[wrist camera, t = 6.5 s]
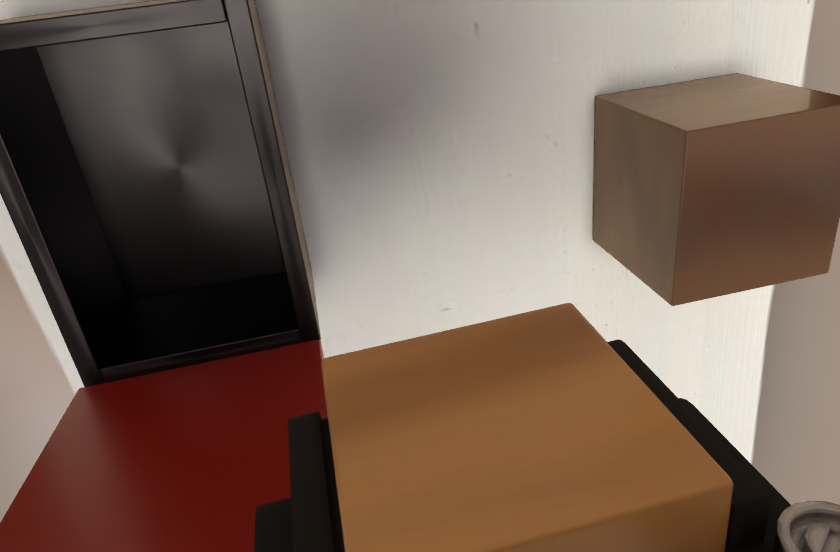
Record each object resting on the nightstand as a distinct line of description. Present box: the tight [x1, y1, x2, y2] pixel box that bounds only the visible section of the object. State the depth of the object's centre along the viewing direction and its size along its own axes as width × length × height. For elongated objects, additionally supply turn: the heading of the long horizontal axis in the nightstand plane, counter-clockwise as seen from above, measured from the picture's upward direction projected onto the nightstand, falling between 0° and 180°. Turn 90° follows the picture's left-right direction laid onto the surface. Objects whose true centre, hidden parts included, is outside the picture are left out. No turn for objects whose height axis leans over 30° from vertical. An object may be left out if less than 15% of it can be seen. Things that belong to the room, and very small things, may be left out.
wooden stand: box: [593, 73, 840, 306], centre depth 31 cm, size 8×8×8 cm
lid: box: [0, 340, 328, 552], centre depth 19 cm, size 14×10×1 cm
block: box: [321, 303, 734, 552], centre depth 10 cm, size 4×4×4 cm
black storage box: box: [0, 0, 321, 387], centre depth 26 cm, size 14×10×7 cm
